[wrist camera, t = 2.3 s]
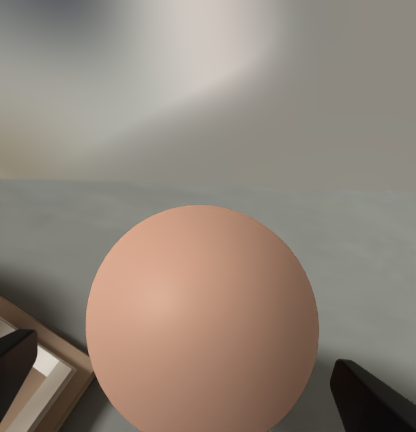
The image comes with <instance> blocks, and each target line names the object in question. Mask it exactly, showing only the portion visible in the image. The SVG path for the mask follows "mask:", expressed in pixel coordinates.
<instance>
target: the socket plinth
mask: <svg viewBox="0 0 416 432" xmlns="http://www.w3.org/2000/svg"><path fill="white" fill-rule="evenodd" d="M20 328H28V329H35V330H36V331H37V334H38V354H37V358H36V361H35V363H34V365H33V367H32V369H31V371H30V372H29V374H28V376H27V378H26V379H25V381H24V383H23V385H22V387H21V388H20V390H19V392H18V394H17V395H16V397H15V399H14V401H13V403H12V404H11V406H10V408H9V410H8V411H7V413H6V415H5V417H4V418H3V420H2V422H1V423H0V432H58V431H59V429H60V428H61V426H62V425H63V423H64V422H65V420H66V419H67V417H68V416H69V414H70V413H71V411H72V410H73V408H74V407H75V405H76V404H77V402H78V401H79V399H80V398H81V397H82V395H83V394H84V392H85V391H86V389H87V388H88V386H89V385H90V383H91V382H92V380H93V379H94V377H95V376H96V375H95V372H94V370H93V367H92V363H91V360H90V356H89V355H88V354H87V353H85V352H84V351H82V350H81V349H79V348H78V347H76V346H75V345H73V344H72V343H70V342H69V341H67V340H66V339H64V338H63V337H61V336H60V335H58V334H57V333H56V332H54V331H53V330H51V329H50V328H48V327H47V326H45V325H44V324H42V323H41V322H39V321H38V320H36V319H35V318H33V317H32V316H30V315H29V314H27V313H26V312H24V311H23V310H21V309H20V308H19V307H17V306H16V305H14V304H13V303H11V302H10V301H8V300H7V299H5V298H4V297H2V296H1V295H0V337H3V336H5V335H7V334H9V333H11V332H13V331H15V330H18V329H20Z"/></svg>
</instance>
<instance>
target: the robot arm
mask: <svg viewBox="0 0 416 432" xmlns="http://www.w3.org/2000/svg"><path fill="white" fill-rule="evenodd" d="M37 354H38V334H37V331H36V330H35V329H28V328H20V329H18V330H15V331H13V332H11V333H9V334H7V335H5V336H3V337H0V423H1V422H2V420H3V418H4V417H5V415H6V413H7V411H8V410H9V408H10V406H11V404H12V403H13V401H14V399H15V397H16V395H17V394H18V392H19V390H20V388H21V387H22V385H23V383H24V381H25V379H26V378H27V376H28V374H29V372H30V371H31V369H32V367H33V365H34V363H35V361H36V358H37ZM330 387H331V391H332V394H333V397H334V400H335V403H336V406H337V408H338V411H339V414H340V417H341V420H342V423H343V426H344V428H345V431H346V432H416V405H415V404H413V403H412V402H410V401H409V400H408V399H406V398H405V397H403V396H402V395H400V394H399V393H398V392H396V391H395V390H393V389H392V388H391V387H389V386H388V385H386V384H385V383H383V382H382V381H381V380H379V379H378V378H376V377H375V376H373V375H372V374H371V373H369V372H368V371H366V370H365V369H363V368H362V367H361V366H359V365H358V364H356V363H355V362H353V361H352V360H346V359H338V360H337V361H336V363H335V366H334V369H333V373H332V376H331V379H330Z"/></svg>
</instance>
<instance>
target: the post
mask: <svg viewBox="0 0 416 432" xmlns="http://www.w3.org/2000/svg"><path fill="white" fill-rule="evenodd" d="M318 338H319V323H318V312H317V307H316V301H315V297H314V294H313V291H312V287H311V285H310V282H309V280H308V278H307V275H306V273H305V271H304V269H303V268H302V266H301V264H300V262H299V261H298V259H297V258H296V256H295V255H294V254H293V252H292V251H291V249H290V248H289V247H288V246H287V245H286V244H285V243H284V242H283V241H282V240H281V239H280V238H279V237H278V236H277V235H276V234H275V233H274V232H273V231H271V230H270V229H269V228H267V227H266V226H265V225H263V224H262V223H260V222H258V221H257V220H255V219H253V218H251V217H249V216H247V215H245V214H242V213H240V212H237V211H234V210H231V209H227V208H222V207H218V206H209V205H191V206H182V207H177V208H173V209H169V210H166V211H163V212H160V213H158V214H155V215H153V216H151V217H149V218H147V219H145V220H144V221H142V222H141V223H139V224H138V225H136V226H134V227H133V228H132V229H131V230H130V231H128V232H127V233H126V234H125V235H124V236H123V237H122V238H121V239H120V240H119V241H118V242H117V243H116V244H115V245H114V246H113V248H112V249H111V250H110V252H109V253H108V254H107V256H106V257H105V259H104V261H103V263H102V264H101V266H100V268H99V270H98V272H97V274H96V277H95V279H94V282H93V284H92V288H91V291H90V295H89V299H88V305H87V312H86V339H87V346H88V353H89V356H90V360H91V363H92V367H93V370H94V372H95V375H96V377H97V379H98V381H99V384H100V386H101V388H102V389H103V391H104V392H105V394H106V396H107V397H108V399H109V400H110V402H111V403H112V404H113V406H114V407H115V408H116V409H117V410H118V411H119V412H120V414H121V415H122V416H123V417H124V418H125V419H126V420H128V421H129V422H130V423H131V424H132V425H134V426H135V427H136V428H137V429H138V430H140V431H142V432H267V431H268V430H270V429H271V428H272V427H274V426H275V425H276V424H277V423H279V422H280V421H281V420H282V419H283V418H284V417H285V416H286V414H287V413H288V412H289V411H290V410H291V409H292V408H293V406H294V405H295V404H296V402H297V401H298V399H299V398H300V396H301V395H302V393H303V391H304V389H305V387H306V385H307V383H308V381H309V379H310V376H311V373H312V370H313V367H314V364H315V360H316V354H317V349H318Z"/></svg>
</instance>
